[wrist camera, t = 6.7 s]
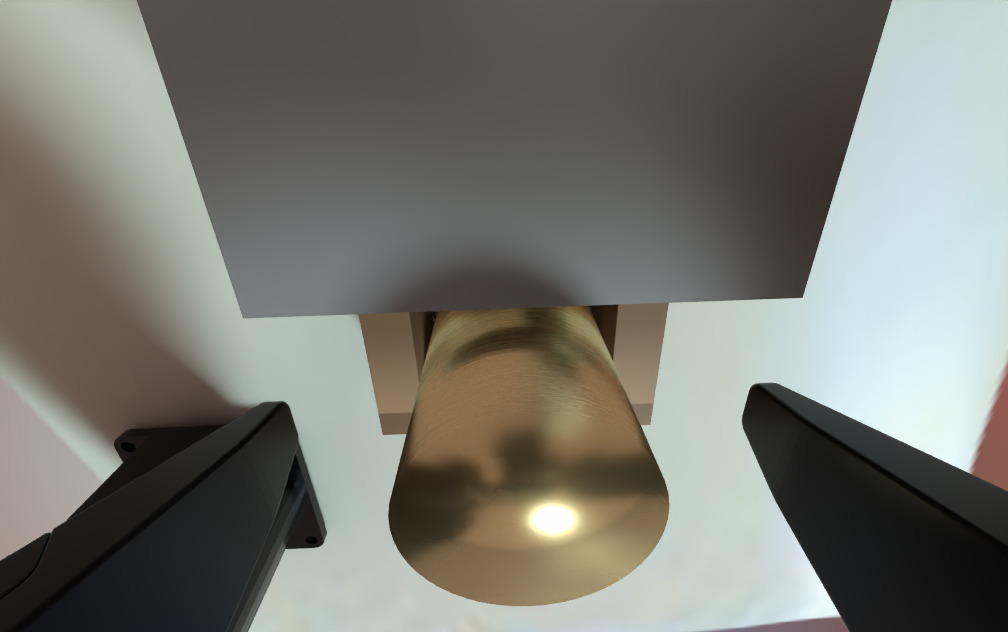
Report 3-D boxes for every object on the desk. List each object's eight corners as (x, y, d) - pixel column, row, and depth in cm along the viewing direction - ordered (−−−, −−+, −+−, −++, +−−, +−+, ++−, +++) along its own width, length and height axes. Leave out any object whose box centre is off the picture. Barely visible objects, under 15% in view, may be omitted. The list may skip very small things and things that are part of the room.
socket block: (623, 368, 16) (719, 573, 9) (401, 377, 16) (333, 588, 9) (662, 20, 11) (916, -82, 4) (344, 31, 11) (117, -57, 4)
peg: (573, 218, 14) (690, 408, 6) (568, 333, 15) (651, 601, 7) (441, 222, 13) (365, 419, 5) (452, 336, 15) (407, 610, 7)
